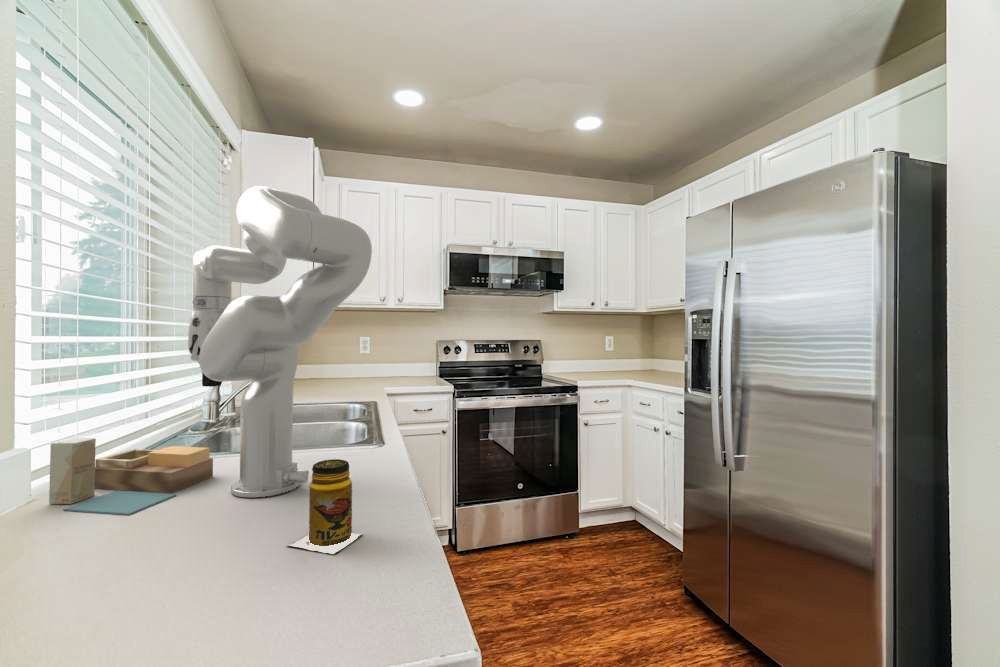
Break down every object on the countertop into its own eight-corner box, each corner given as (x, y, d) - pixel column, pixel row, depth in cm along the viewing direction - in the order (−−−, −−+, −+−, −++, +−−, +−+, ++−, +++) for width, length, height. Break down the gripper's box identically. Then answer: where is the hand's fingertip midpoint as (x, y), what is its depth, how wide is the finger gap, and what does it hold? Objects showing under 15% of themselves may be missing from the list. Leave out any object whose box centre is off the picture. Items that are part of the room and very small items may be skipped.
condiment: (334, 556, 68) (335, 471, 68) (285, 547, 70) (286, 466, 70) (364, 535, 75) (364, 458, 75) (318, 528, 77) (319, 454, 77)
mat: (176, 495, 92) (176, 494, 92) (128, 515, 82) (128, 513, 82) (116, 491, 93) (116, 490, 93) (63, 510, 83) (63, 508, 83)
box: (71, 504, 86) (71, 443, 86) (47, 504, 86) (48, 443, 86) (96, 495, 92) (96, 437, 92) (74, 494, 92) (74, 436, 92)
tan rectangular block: (209, 459, 103) (209, 447, 103) (187, 467, 97) (187, 454, 97) (172, 457, 104) (172, 446, 104) (148, 464, 98) (148, 452, 98)
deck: (212, 476, 104) (213, 451, 104) (171, 493, 93) (171, 465, 93) (139, 472, 106) (139, 447, 106) (90, 488, 95) (90, 460, 95)
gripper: (202, 303, 101) (201, 390, 101) (249, 307, 116) (248, 383, 116) (170, 303, 102) (169, 389, 102) (221, 307, 117) (220, 382, 117)
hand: (211, 385), depth 109 cm, fingers closed
